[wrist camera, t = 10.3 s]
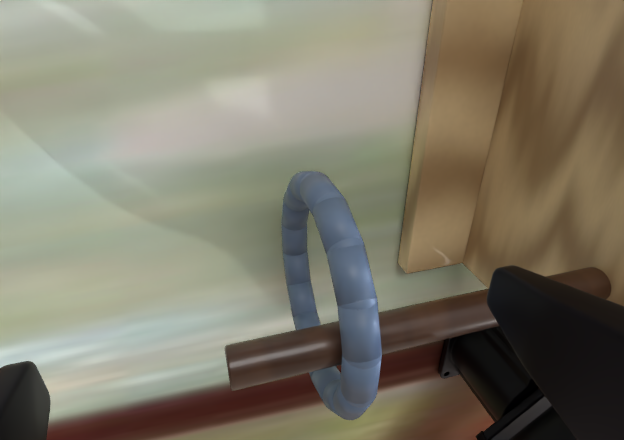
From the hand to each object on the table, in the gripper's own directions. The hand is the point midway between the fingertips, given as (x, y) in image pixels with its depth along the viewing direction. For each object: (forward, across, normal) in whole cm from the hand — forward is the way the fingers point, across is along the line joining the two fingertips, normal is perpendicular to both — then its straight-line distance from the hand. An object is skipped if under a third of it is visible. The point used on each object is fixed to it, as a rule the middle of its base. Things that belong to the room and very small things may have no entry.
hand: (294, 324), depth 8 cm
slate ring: (+6, -3, +5) cm, 8 cm away
